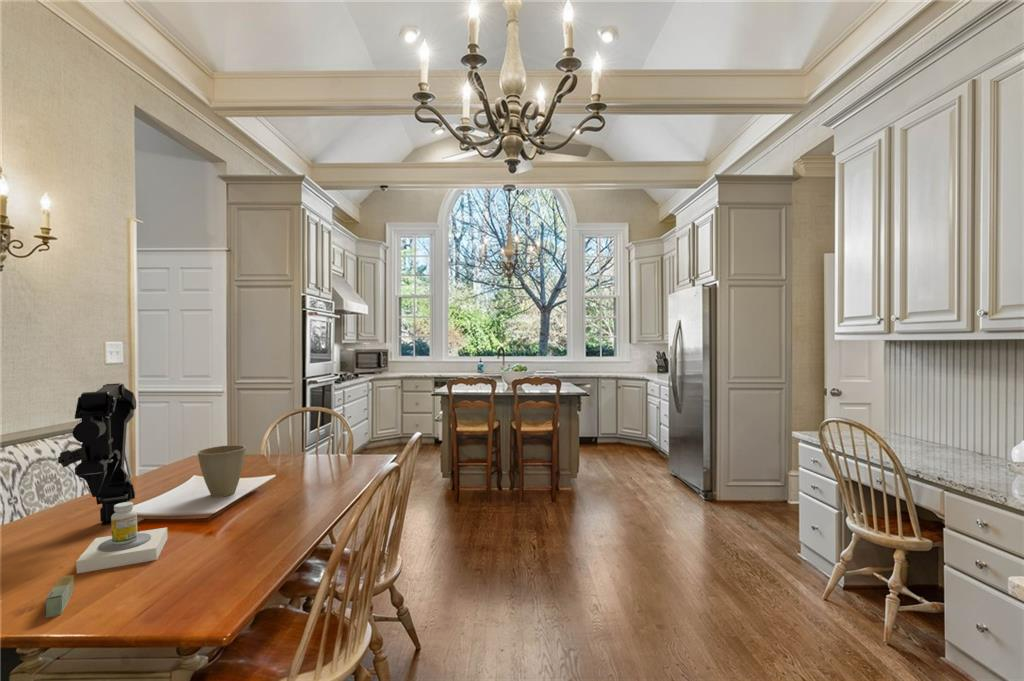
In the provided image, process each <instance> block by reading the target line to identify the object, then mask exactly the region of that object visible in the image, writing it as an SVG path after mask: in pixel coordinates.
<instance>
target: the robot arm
mask: <svg viewBox="0 0 1024 681" xmlns="http://www.w3.org/2000/svg"><path fill="white" fill-rule="evenodd" d="M136 409H137V400H136V396H135V393H134V392H133V391H131V390H130V389H127V388H126V386H125V384H124V383H121V382H119V383H106V384H103V385H102V387H101V388H99V389H98V390H96V391H89V392H85V391H84V392H81V394H80V396H79V397H78V398H77V402H76V408H75V412H74V419H75V420H79V419H80V420H81V422H79V423H77V424H76V425H75V426H74V428H73V429H72V430H73V431H72V437H73V438H74V440H75V441H78V443H81V445H80V446H81V447H78V448H75V449H74V450H70V449H67V450H65V451H64V450H63V451H62V452H60V453H59V456H58V457H57V459H58V461H57V463H58V464H61V466H62V468H68V466H70V465H72V464H74V463H77V462H79V461H81V462H80V463H79V464H77V465H76V466H75V467H74V475H75V476H77V477H78V478H82V479H83V480H84V481H85V482H86V484H87V487H88V489H89V491H90V494H91V497H93V498H95V501H96V505H101V508H100V509H99V516H100V518H99V519H100V522H101V523H100V525H101V526H107V525H111V516H112V515H113V514H114V513H116V512H115V511H114V505H116V504H119V503H124V502H130V501H132V500H134V499H136V492H135V487H134V485H133V482H132V481H131V479H130V475H129V474H128V473H127V472H126V470H125V458H126V445H127V442H126V441H127V431H128V430H127V429H128V427H127V426H128V423H129V422H130V421H131V419H132V418H134V415H135V410H136Z"/></svg>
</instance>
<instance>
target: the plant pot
mask: <svg viewBox="0 0 1024 681" xmlns="http://www.w3.org/2000/svg"><path fill="white" fill-rule="evenodd" d="M245 451H246V446H245V445H243V444H241V445H240V444H228V445H218V446H213V447H207V448H203V449H201V450H198V451H197V452H196V453H197V457H198V462H199V468H200V470H201V473H202V476H203V477H202V478H203V480H204V483H205V485H206V487H207V490H208V492H209V494H210V496H211V497H213V498H220V497H229V496H231V495H233V494H235V493H236V491H237V487H238V485H239V482H240V478H241V475H242V470H243V466H244V461H245Z"/></svg>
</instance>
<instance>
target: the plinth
mask: <svg viewBox="0 0 1024 681" xmlns="http://www.w3.org/2000/svg"><path fill="white" fill-rule="evenodd" d="M137 534H138V537H137V539H136V540H135V541H133V542H131V543H127V544H122V545H115V544H113V543H112V535H108V536H102V537H101V536H100V537H96V538H94V540H93V541H92V542H91V543H90V544H89V546H88V547H87V548H86V549H85V550H84V551H83V553H81V555H80V556H79V557H78V559H77V560H76V562H75V563H76V574H83V573H89V572H95V571H100V570H106V569H112V568H117V567H118V568H119V567H123V566H129V565H134V564H140V563H147V562H150V561H157V560H158V558H159V556H160V554H161V553H162V550H163V548H164V546H165V544H166V543H167V540H168V539H169V538H168V527H167V526H166V527H161V528H154V529H147V530H140V531H137Z"/></svg>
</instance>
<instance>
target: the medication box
mask: <svg viewBox="0 0 1024 681" xmlns="http://www.w3.org/2000/svg"><path fill="white" fill-rule="evenodd" d="M74 587H75V575H74V574H72V575H71V574H70V575H65V576H60V577H59V578H58V580H57V581H56V582H55V584H54V586H53V587H52V589H51V590H50V592H49V594H48V595H47V597H46V598H45V604H44V617H45V619H48V618H53V617H57V616H61V615H62V613H63V611H64V609H65V608H66V606H67V604H68V602H69V600H70V598H71V597H72V594H73V592H74V589H75V588H74Z"/></svg>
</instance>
